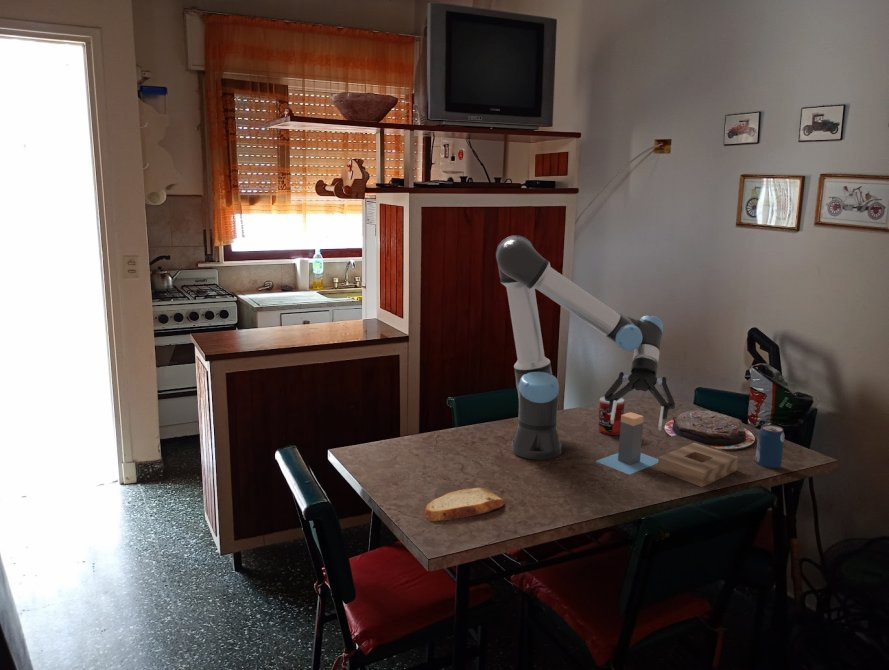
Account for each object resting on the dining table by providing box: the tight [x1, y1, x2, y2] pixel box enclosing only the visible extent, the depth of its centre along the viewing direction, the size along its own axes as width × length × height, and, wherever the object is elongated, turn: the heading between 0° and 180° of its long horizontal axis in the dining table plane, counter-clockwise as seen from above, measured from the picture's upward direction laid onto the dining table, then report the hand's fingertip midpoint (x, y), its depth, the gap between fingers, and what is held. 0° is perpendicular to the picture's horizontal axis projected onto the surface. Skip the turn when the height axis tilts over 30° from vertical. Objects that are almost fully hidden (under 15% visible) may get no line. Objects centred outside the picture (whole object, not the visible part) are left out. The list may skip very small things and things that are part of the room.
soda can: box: [754, 424, 786, 469], centre depth 205 cm, size 7×7×12 cm
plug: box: [617, 411, 644, 465], centre depth 206 cm, size 4×4×14 cm
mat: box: [595, 452, 658, 476], centre depth 207 cm, size 16×12×1 cm
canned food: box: [597, 395, 625, 436], centre depth 233 cm, size 8×8×11 cm
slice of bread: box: [423, 487, 505, 522], centre depth 178 cm, size 18×18×4 cm
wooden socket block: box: [657, 442, 739, 488], centre depth 201 cm, size 18×14×5 cm
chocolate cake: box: [664, 409, 756, 452], centre depth 231 cm, size 28×28×7 cm
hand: (635, 425), depth 206 cm, fingers open, 13 cm apart
